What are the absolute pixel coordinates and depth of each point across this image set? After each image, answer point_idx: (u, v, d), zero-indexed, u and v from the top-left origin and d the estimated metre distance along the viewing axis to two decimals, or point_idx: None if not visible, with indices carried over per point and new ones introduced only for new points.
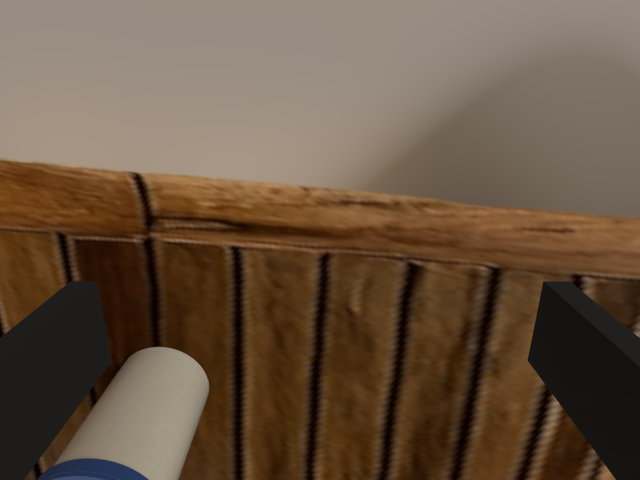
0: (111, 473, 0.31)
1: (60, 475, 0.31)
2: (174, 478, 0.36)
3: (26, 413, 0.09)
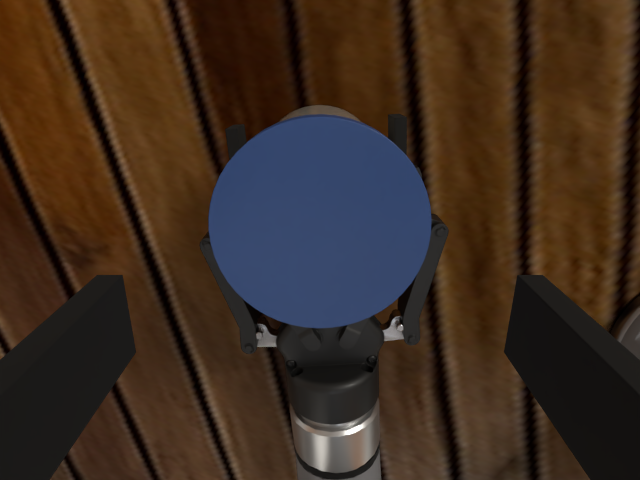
0: (341, 117, 0.19)
1: (264, 130, 0.19)
2: None
3: (62, 399, 0.10)
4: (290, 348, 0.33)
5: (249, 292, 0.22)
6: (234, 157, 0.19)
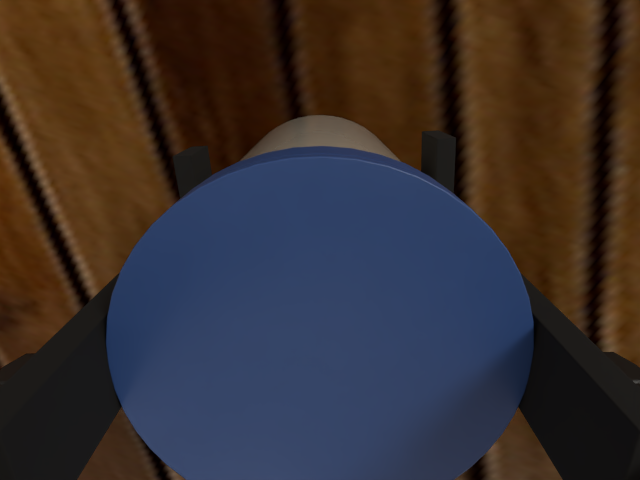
0: (362, 156, 0.10)
1: (207, 182, 0.09)
2: None
3: (97, 387, 0.10)
4: None
5: (191, 465, 0.12)
6: (147, 235, 0.10)
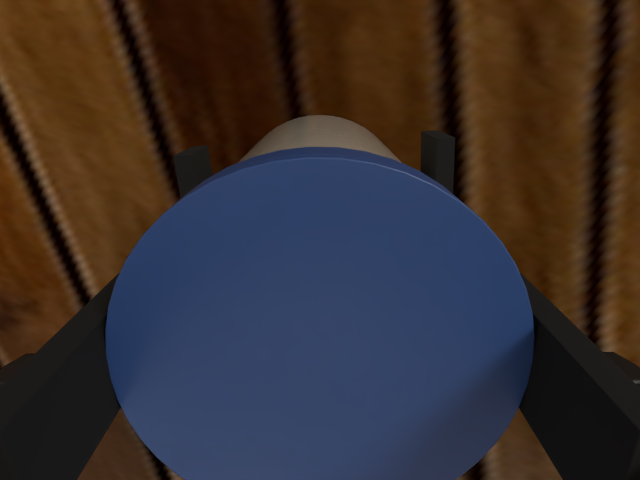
0: None
1: None
2: None
3: (97, 387, 0.10)
4: None
5: (442, 470, 0.12)
6: None
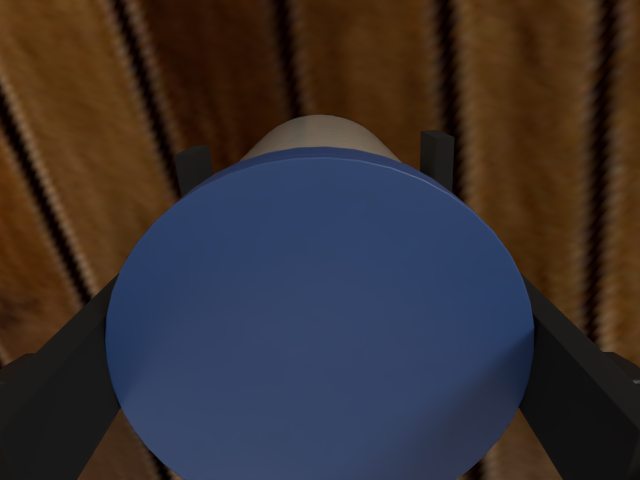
0: None
1: None
2: None
3: (97, 387, 0.10)
4: None
5: (462, 234, 0.10)
6: (473, 463, 0.12)
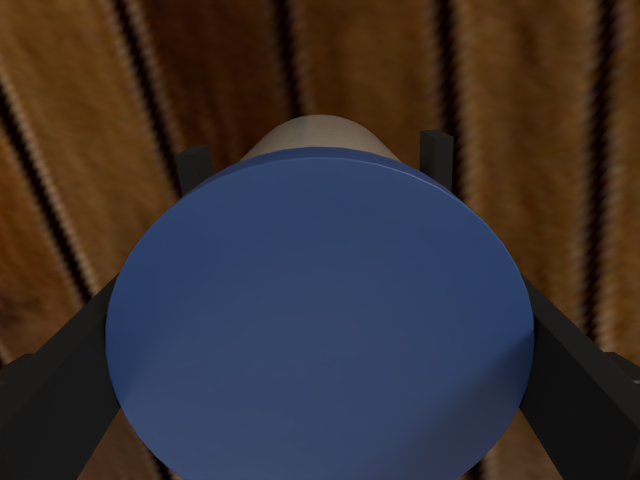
0: None
1: None
2: None
3: (97, 387, 0.10)
4: None
5: (152, 262, 0.10)
6: (451, 200, 0.09)
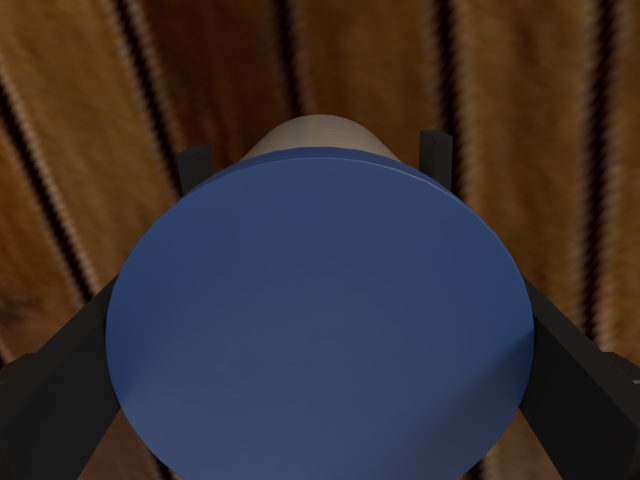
0: (307, 152, 0.09)
1: None
2: None
3: (97, 387, 0.10)
4: None
5: None
6: (121, 276, 0.10)
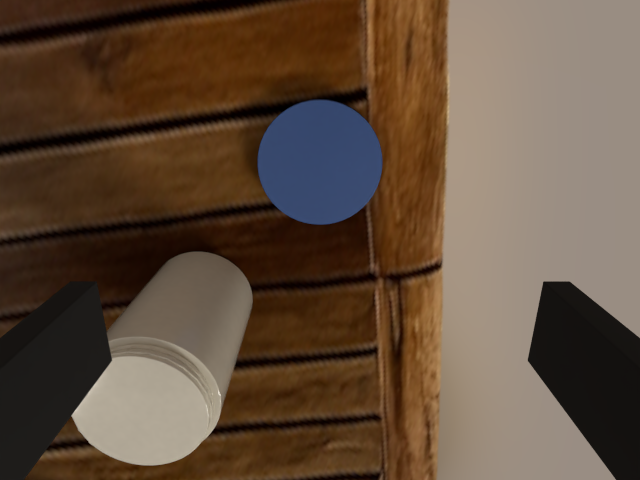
0: None
1: None
2: None
3: (25, 413, 0.09)
4: None
5: (366, 193, 0.38)
6: (293, 217, 0.38)
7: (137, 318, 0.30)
